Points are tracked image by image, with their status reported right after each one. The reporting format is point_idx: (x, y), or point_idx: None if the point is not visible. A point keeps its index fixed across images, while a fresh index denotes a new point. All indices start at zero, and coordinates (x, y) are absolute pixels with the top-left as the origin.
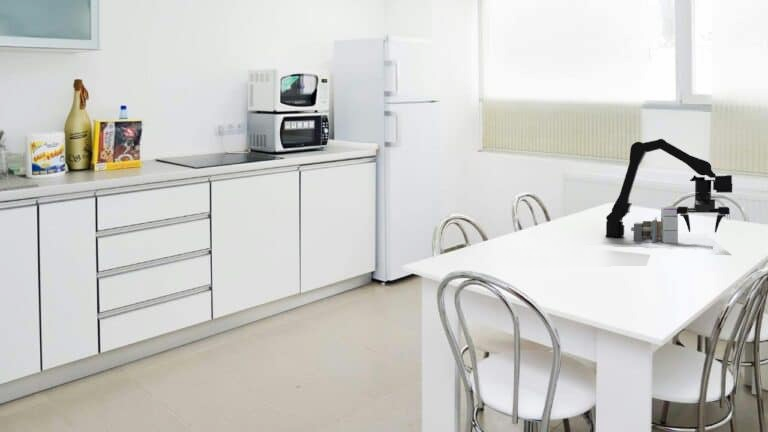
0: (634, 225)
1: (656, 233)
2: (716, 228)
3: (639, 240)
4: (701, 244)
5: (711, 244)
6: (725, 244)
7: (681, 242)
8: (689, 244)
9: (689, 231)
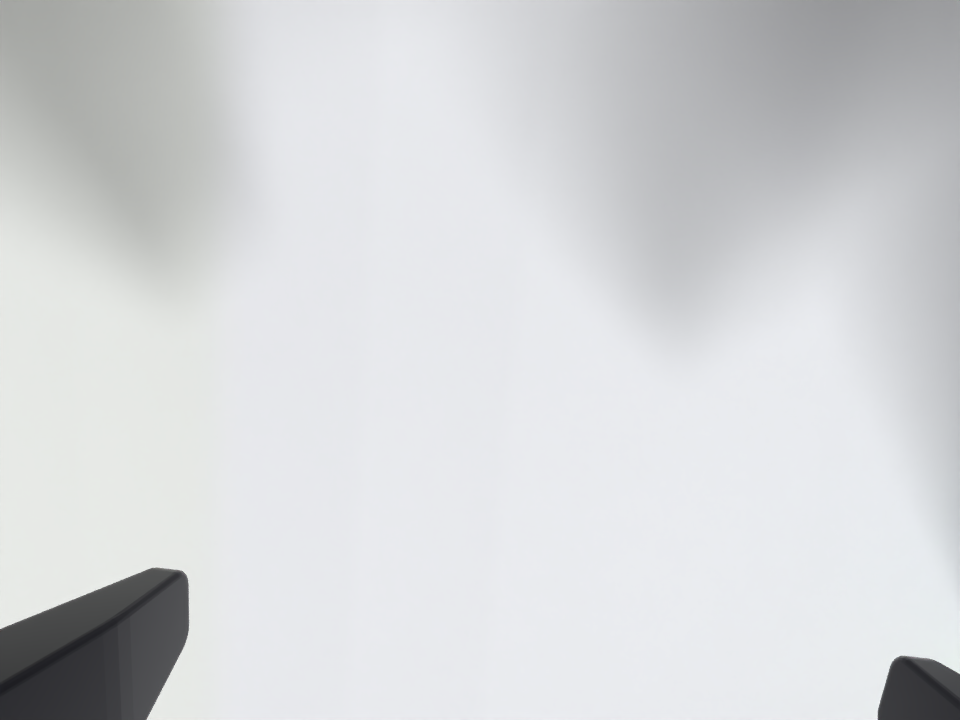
0: None
1: None
2: (54, 617)
3: None
4: (569, 230)
5: (369, 288)
6: (113, 362)
7: (905, 600)
8: (832, 154)
9: (926, 663)
